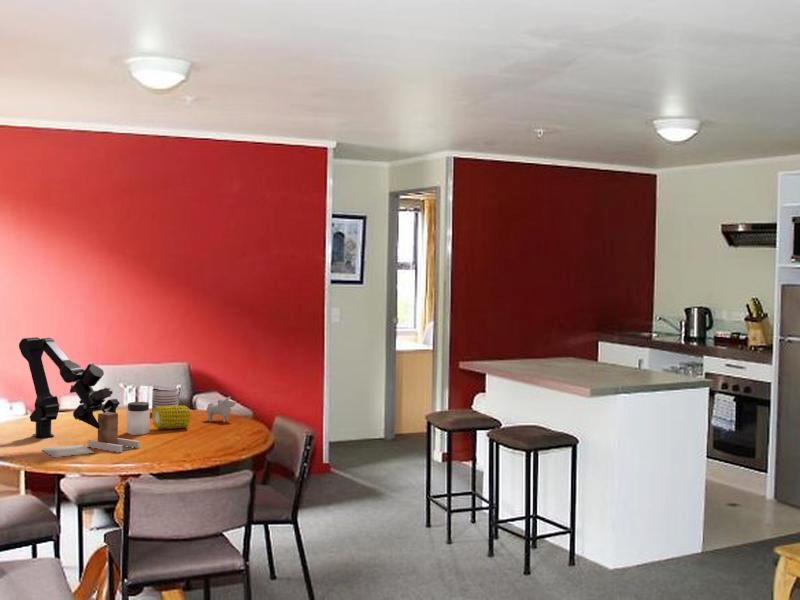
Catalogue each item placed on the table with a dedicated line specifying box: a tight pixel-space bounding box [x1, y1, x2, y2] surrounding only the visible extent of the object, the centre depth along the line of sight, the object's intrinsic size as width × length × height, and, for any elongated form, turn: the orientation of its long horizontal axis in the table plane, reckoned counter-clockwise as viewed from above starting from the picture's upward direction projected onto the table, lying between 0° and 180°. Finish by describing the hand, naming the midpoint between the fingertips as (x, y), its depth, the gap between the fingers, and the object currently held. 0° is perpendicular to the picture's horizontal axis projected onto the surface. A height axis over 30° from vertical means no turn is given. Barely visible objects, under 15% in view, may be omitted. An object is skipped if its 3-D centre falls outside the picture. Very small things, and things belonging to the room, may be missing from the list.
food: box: [151, 405, 192, 430], centre depth 371 cm, size 15×12×10 cm
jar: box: [126, 401, 151, 436], centre depth 360 cm, size 9×8×12 cm
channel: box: [87, 437, 141, 453], centre depth 331 cm, size 16×10×2 cm, turn 64°
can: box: [151, 385, 179, 412], centre depth 407 cm, size 11×11×12 cm
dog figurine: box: [206, 396, 237, 423], centre depth 392 cm, size 5×13×11 cm, turn 86°
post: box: [97, 412, 119, 445], centre depth 333 cm, size 5×5×12 cm
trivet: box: [42, 444, 95, 458], centre depth 322 cm, size 14×14×1 cm
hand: (108, 426), depth 332 cm, fingers open, 9 cm apart
